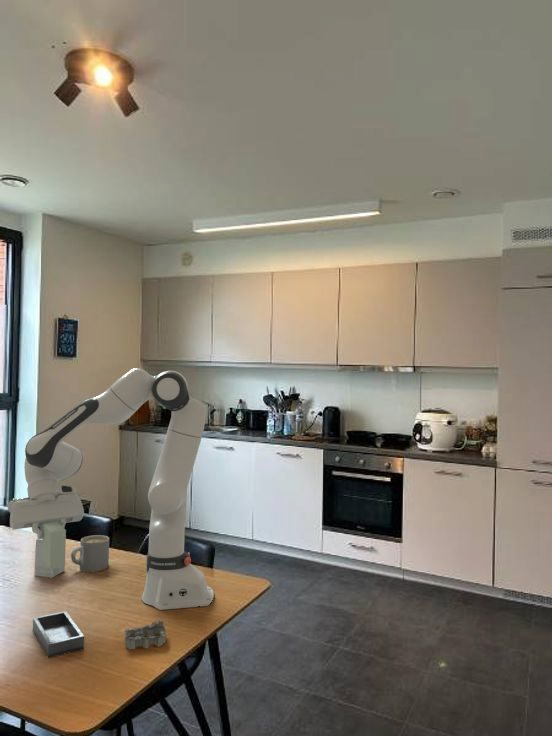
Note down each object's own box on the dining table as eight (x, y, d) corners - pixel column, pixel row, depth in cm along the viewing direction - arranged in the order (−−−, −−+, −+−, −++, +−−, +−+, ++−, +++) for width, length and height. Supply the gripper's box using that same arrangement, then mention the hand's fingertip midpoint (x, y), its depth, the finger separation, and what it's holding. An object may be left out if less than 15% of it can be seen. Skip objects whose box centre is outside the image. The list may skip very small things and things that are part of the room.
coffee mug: (104, 560, 208) (105, 533, 208) (111, 568, 199) (112, 541, 200) (67, 566, 201) (68, 538, 201) (72, 574, 192) (73, 545, 193)
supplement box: (53, 578, 189) (54, 541, 189) (33, 576, 190) (35, 539, 190) (65, 571, 196) (66, 535, 196) (46, 568, 198) (47, 533, 198)
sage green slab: (56, 556, 162) (57, 521, 162) (65, 566, 154) (65, 529, 154) (41, 558, 160) (42, 523, 160) (49, 568, 151) (50, 531, 152)
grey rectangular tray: (65, 622, 156) (65, 611, 156) (83, 649, 141) (84, 636, 141) (32, 630, 151) (33, 617, 151) (48, 658, 136) (48, 644, 136)
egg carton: (164, 634, 151) (165, 619, 151) (166, 648, 144) (167, 632, 144) (124, 638, 148) (124, 622, 148) (123, 651, 141) (124, 635, 141)
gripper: (8, 493, 160) (13, 536, 152) (80, 486, 172) (88, 525, 163) (5, 506, 164) (10, 548, 155) (76, 498, 175) (84, 537, 167)
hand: (51, 536), depth 160 cm, fingers closed on sage green slab, 4 cm apart
